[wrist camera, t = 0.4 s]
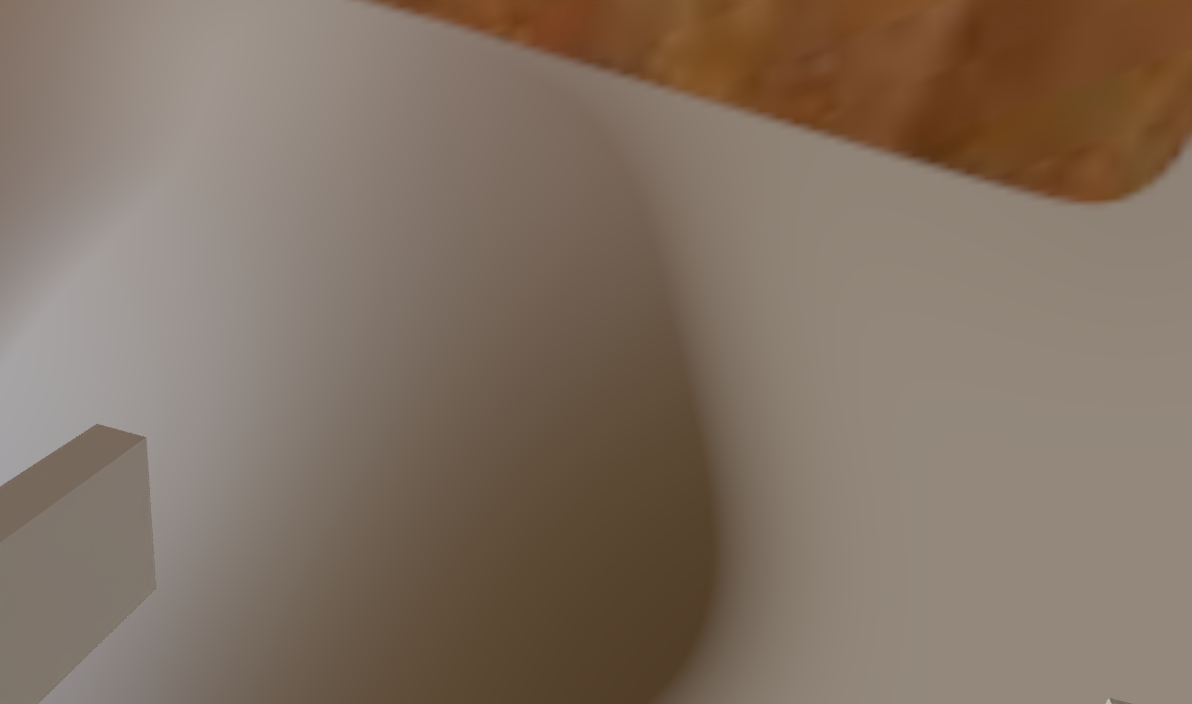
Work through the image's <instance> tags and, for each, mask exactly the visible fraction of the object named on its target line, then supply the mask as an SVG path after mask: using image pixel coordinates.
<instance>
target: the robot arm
mask: <svg viewBox="0 0 1192 704" xmlns="http://www.w3.org/2000/svg"><path fill="white" fill-rule="evenodd" d="M155 589H156V580H155V564H154V550H153V533H152V518H151V503H150V488H149V472H148V457H147V443H146V437H143V436H140V435H136V434H132V433H128V432H124V431H121V430H117V429H114V428H110V427H106V426H103V425H99V424H96V425H94V426H93V427H91V428H90V429H88V430H87V431H85V432H84V433H82V434H81V435H79V436H77V437H76V438H75V439H73V440H71V441H70V442H68V443H67V444H65V445H64V446H62V447H61V448H59V449H57V450H56V451H54V452H53V453H51V454H50V455H48V456H47V457H45V458H44V459H42V460H40V461H39V462H37V463H36V464H34V465H33V466H31V467H30V468H28V469H27V470H25V471H24V472H22V473H20V474H19V475H17V476H16V477H14V478H13V479H11V480H10V481H8V482H7V483H5V484H4V485H2V486H1V487H0V704H38V703H39V702H40V701H41V700H42V699H43V698H44V697H46V695H48V694H49V693H50V692H51V691H52V690H53V689H54V688H55V687H56V686H57V685H58V684H59V683H60V682H61V681H62V680H63V679H64V678H65V677H66V676H67V675H68V674H69V673H70V672H71V671H72V670H73V669H74V668H75V667H76V666H77V665H78V664H79V663H80V662H81V661H82V660H83V659H84V658H85V657H86V656H87V655H89V653H91V652H92V651H93V650H94V649H95V648H96V647H97V646H98V644H100V643H101V642H102V641H103V640H104V639H105V638H106V637H107V636H108V635H109V634H110V633H111V632H112V631H113V630H114V629H115V628H116V627H117V626H118V625H119V624H120V623H121V622H122V621H123V620H124V619H125V618H126V617H127V616H128V615H129V614H131V613H132V612H133V611H134V609H136V608H137V606H139V605H140V604H141V603H142V602H143V601H144V600H145V599H146V598H147V597H148V596H149V595H150V594H151V593H152V592H153V591H154V590H155ZM1106 704H1130V703H1126V702H1123V701H1119V700H1115V699H1112V698H1109V699H1108V700H1107V702H1106Z"/></svg>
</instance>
